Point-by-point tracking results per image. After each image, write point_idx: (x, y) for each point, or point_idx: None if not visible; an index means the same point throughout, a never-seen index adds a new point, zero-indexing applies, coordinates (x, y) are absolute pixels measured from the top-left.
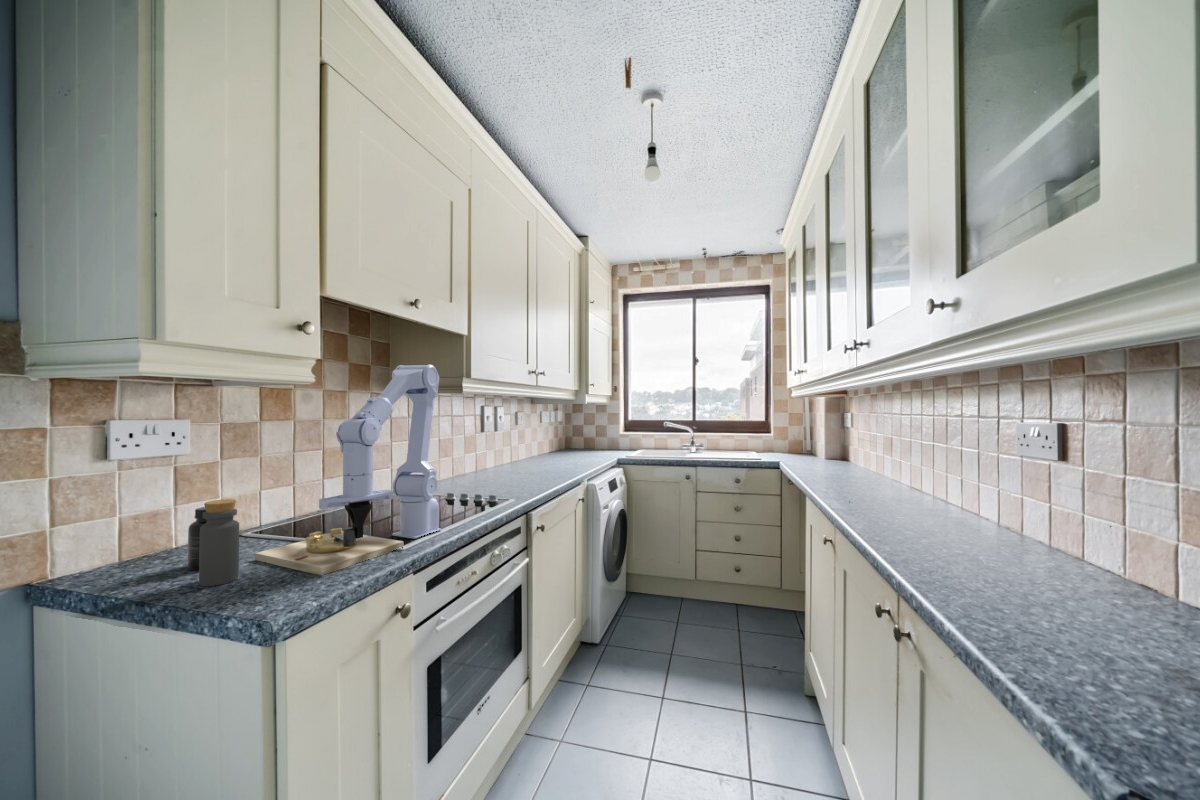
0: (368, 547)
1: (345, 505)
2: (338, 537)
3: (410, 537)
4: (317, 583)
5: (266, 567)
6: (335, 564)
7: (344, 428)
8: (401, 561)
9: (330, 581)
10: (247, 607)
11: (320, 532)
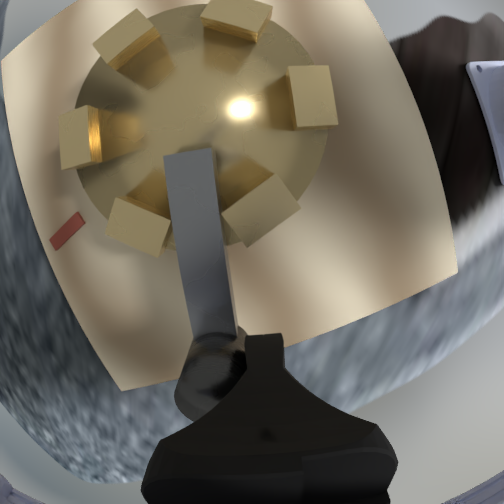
0: (330, 260)
1: (152, 501)
2: (182, 251)
3: (499, 167)
4: (121, 417)
5: (14, 167)
6: (162, 380)
7: None
8: (358, 402)
9: (149, 426)
10: (32, 421)
11: (144, 33)
